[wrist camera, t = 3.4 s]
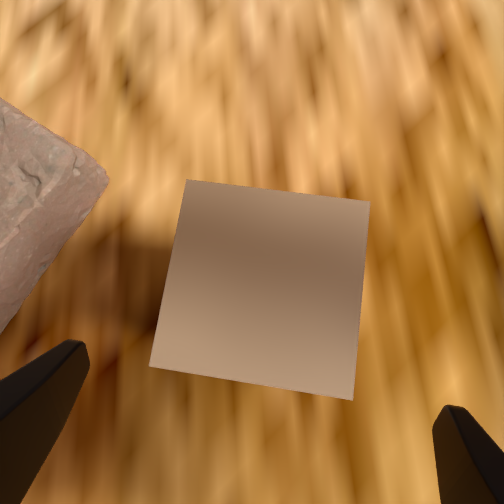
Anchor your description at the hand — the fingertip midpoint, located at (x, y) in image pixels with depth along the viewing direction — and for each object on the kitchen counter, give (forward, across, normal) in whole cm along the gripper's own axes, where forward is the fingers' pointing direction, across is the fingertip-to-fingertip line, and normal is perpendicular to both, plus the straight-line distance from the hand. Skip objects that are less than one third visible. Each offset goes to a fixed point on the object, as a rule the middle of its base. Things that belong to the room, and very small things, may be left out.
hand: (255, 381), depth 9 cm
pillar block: (+9, 0, +5) cm, 10 cm away
